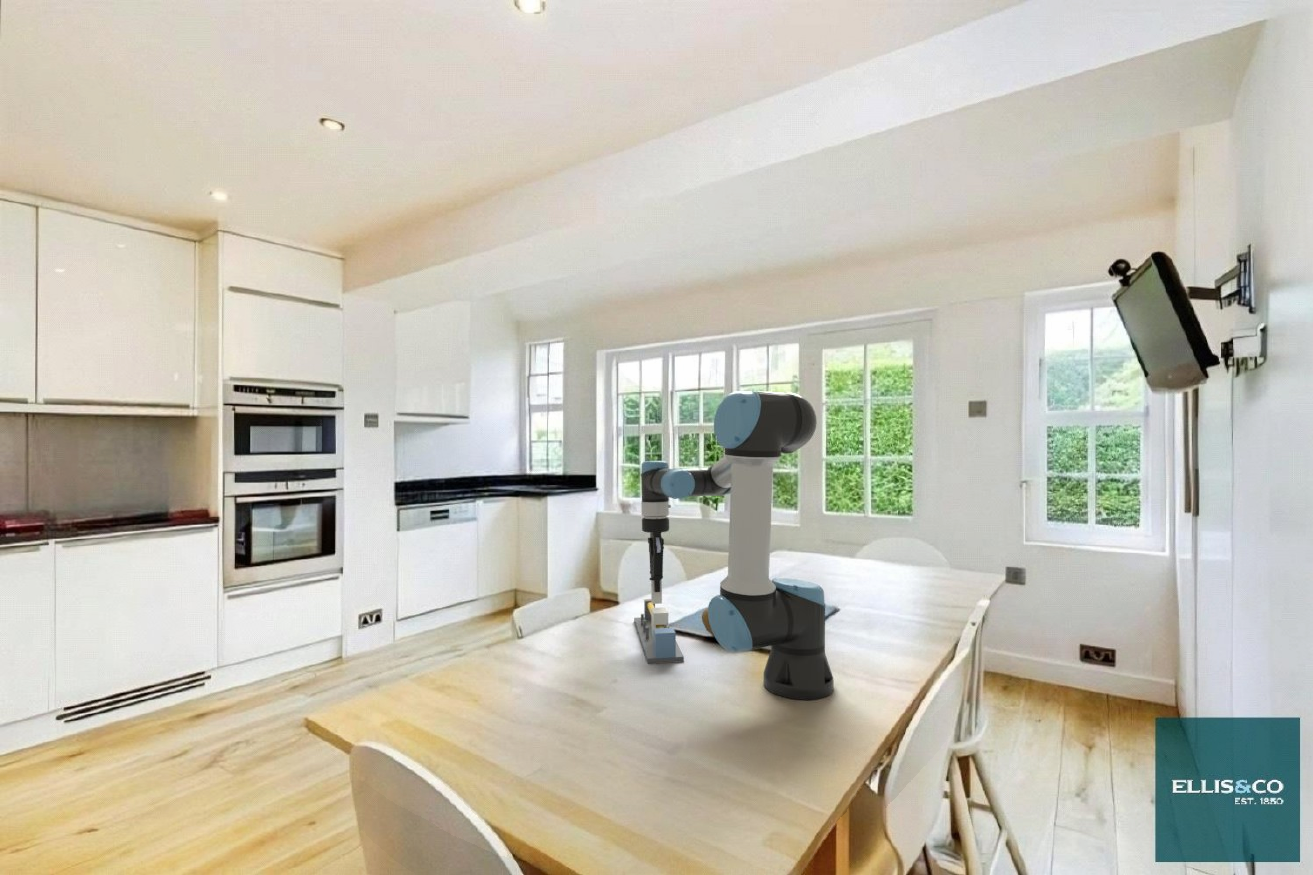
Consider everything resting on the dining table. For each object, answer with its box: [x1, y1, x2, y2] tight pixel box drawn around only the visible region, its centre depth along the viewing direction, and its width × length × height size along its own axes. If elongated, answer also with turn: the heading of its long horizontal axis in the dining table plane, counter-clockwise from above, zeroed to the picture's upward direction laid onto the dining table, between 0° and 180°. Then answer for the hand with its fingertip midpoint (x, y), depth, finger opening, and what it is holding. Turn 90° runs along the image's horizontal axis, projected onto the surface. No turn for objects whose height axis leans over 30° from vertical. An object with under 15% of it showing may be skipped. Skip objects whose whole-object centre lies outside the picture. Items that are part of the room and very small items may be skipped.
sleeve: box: [651, 606, 669, 634], centre depth 158 cm, size 5×4×6 cm
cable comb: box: [633, 598, 685, 664], centre depth 164 cm, size 34×9×7 cm, turn 8°
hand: (656, 602), depth 165 cm, fingers closed
